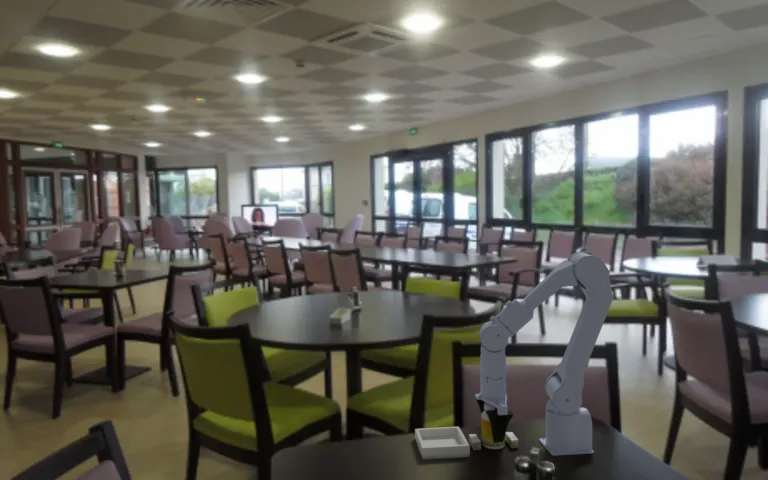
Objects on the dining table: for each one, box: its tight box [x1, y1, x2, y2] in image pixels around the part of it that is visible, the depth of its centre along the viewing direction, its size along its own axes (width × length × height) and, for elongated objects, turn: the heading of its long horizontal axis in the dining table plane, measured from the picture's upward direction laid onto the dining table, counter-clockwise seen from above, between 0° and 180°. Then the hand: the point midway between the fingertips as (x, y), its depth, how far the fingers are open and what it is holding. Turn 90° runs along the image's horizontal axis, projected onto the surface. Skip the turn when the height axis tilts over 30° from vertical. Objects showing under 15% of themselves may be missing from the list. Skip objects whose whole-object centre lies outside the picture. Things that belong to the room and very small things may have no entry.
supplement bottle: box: [480, 402, 506, 450], centre depth 123 cm, size 5×5×10 cm
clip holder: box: [468, 431, 519, 451], centre depth 124 cm, size 10×4×2 cm, turn 95°
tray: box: [414, 426, 471, 460], centre depth 122 cm, size 10×10×2 cm
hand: (493, 434), depth 124 cm, fingers open, 7 cm apart
